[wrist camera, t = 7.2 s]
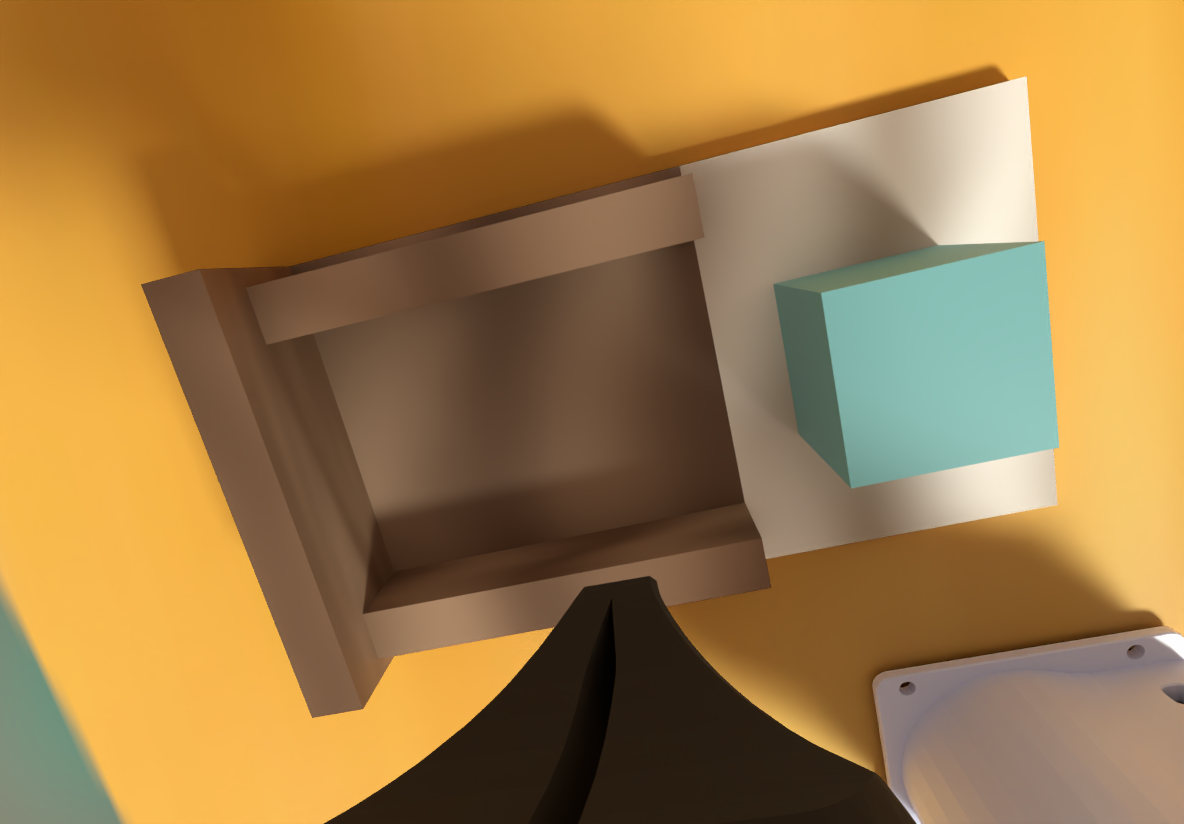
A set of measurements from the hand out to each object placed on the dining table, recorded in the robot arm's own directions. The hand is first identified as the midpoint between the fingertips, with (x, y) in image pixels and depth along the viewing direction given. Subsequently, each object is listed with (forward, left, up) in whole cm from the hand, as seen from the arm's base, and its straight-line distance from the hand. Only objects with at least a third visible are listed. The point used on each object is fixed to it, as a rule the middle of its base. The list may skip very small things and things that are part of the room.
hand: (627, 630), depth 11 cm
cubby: (-1, -2, -9) cm, 9 cm away
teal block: (-7, -3, -8) cm, 11 cm away
